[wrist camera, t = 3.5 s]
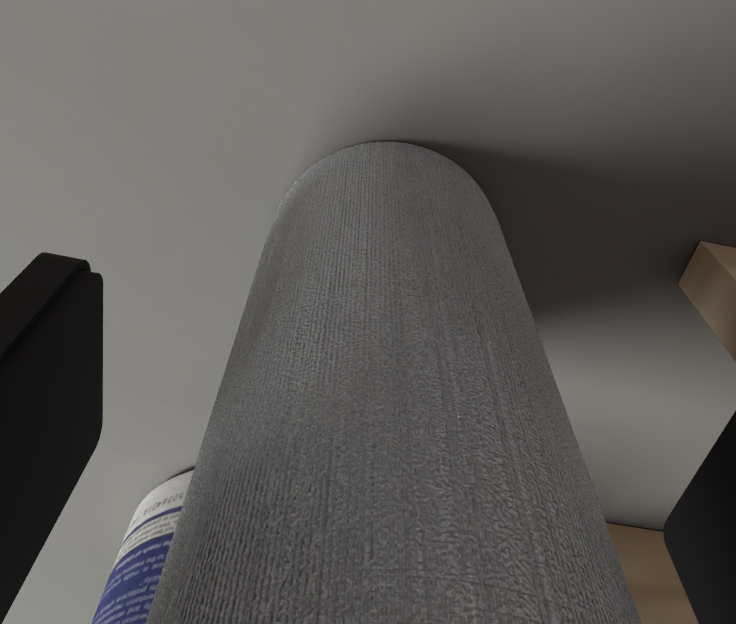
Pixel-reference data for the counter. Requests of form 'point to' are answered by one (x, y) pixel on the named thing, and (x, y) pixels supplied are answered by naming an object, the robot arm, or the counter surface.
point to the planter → (389, 426)
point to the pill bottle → (143, 555)
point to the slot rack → (647, 547)
